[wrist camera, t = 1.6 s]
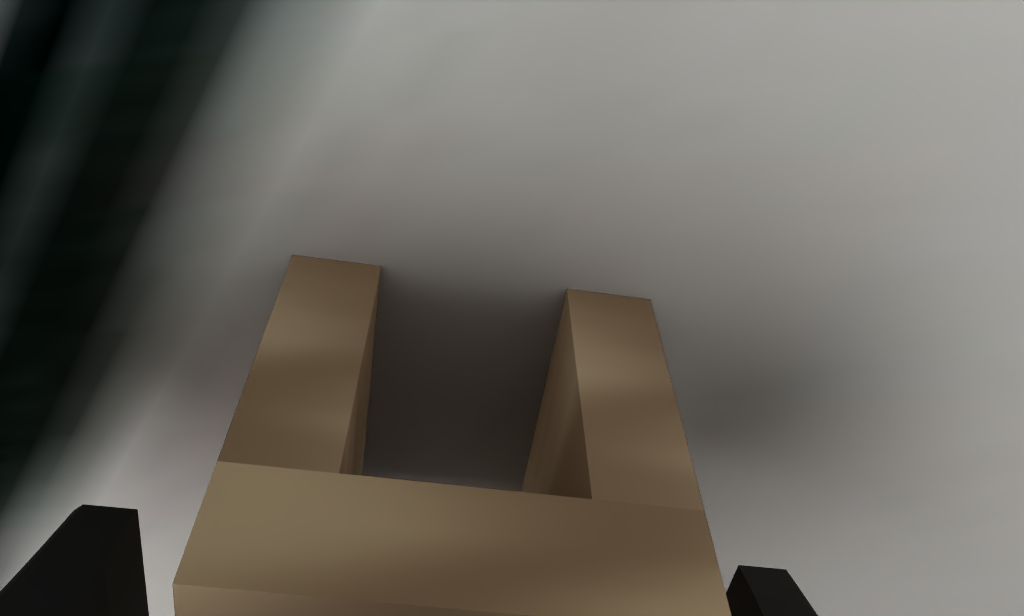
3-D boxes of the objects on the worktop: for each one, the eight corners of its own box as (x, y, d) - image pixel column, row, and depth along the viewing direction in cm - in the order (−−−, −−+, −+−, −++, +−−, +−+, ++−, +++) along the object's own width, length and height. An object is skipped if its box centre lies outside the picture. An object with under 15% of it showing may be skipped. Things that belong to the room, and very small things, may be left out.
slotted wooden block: (650, 299, 13) (736, 633, 8) (580, 539, 16) (616, 889, 11) (292, 255, 12) (171, 583, 8) (286, 511, 15) (194, 865, 10)
